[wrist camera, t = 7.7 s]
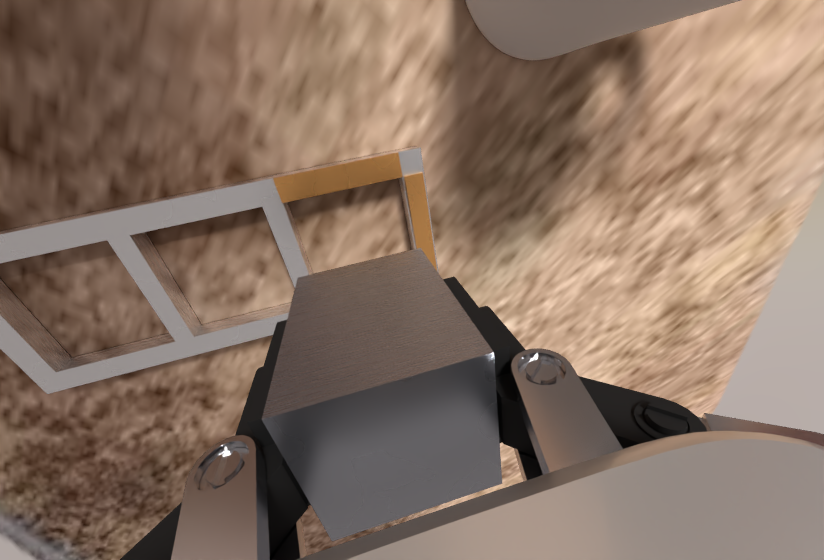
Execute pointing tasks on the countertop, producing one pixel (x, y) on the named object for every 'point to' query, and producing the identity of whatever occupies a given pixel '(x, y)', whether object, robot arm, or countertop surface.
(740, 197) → the countertop surface
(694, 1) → the mug
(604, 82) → the countertop surface
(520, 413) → the robot arm
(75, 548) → the countertop surface
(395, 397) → the grey rectangular block
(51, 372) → the grey flat frame
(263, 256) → the countertop surface
